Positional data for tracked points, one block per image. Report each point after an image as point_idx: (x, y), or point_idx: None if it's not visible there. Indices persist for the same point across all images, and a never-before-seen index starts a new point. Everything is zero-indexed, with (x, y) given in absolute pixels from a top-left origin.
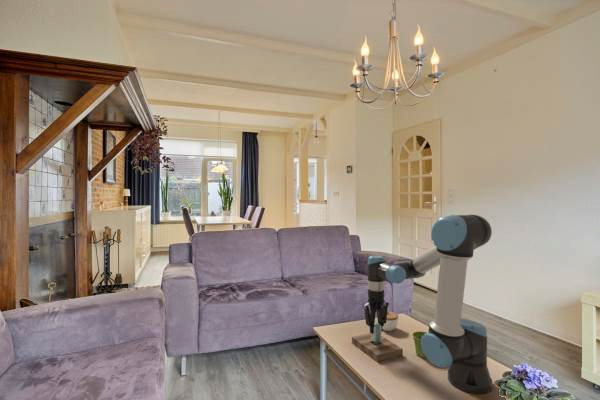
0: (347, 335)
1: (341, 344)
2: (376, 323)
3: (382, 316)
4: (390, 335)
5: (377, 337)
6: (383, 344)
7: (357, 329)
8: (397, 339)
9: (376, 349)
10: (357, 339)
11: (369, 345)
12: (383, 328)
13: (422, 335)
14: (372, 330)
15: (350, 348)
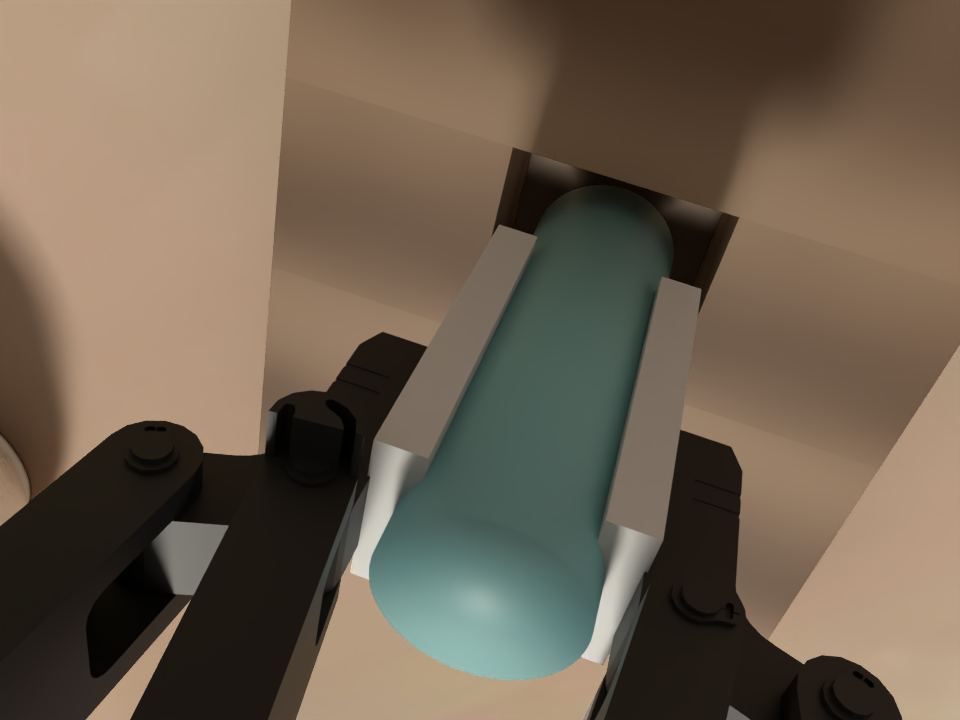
0: (583, 716)
1: (922, 669)
2: (444, 606)
3: (73, 690)
4: (39, 332)
5: (606, 298)
6: (540, 116)
7: (332, 697)
8: (17, 181)
9: (927, 61)
10: (765, 577)
11: (838, 299)
12: (22, 493)
13: None
14: (699, 505)
15: (956, 524)
